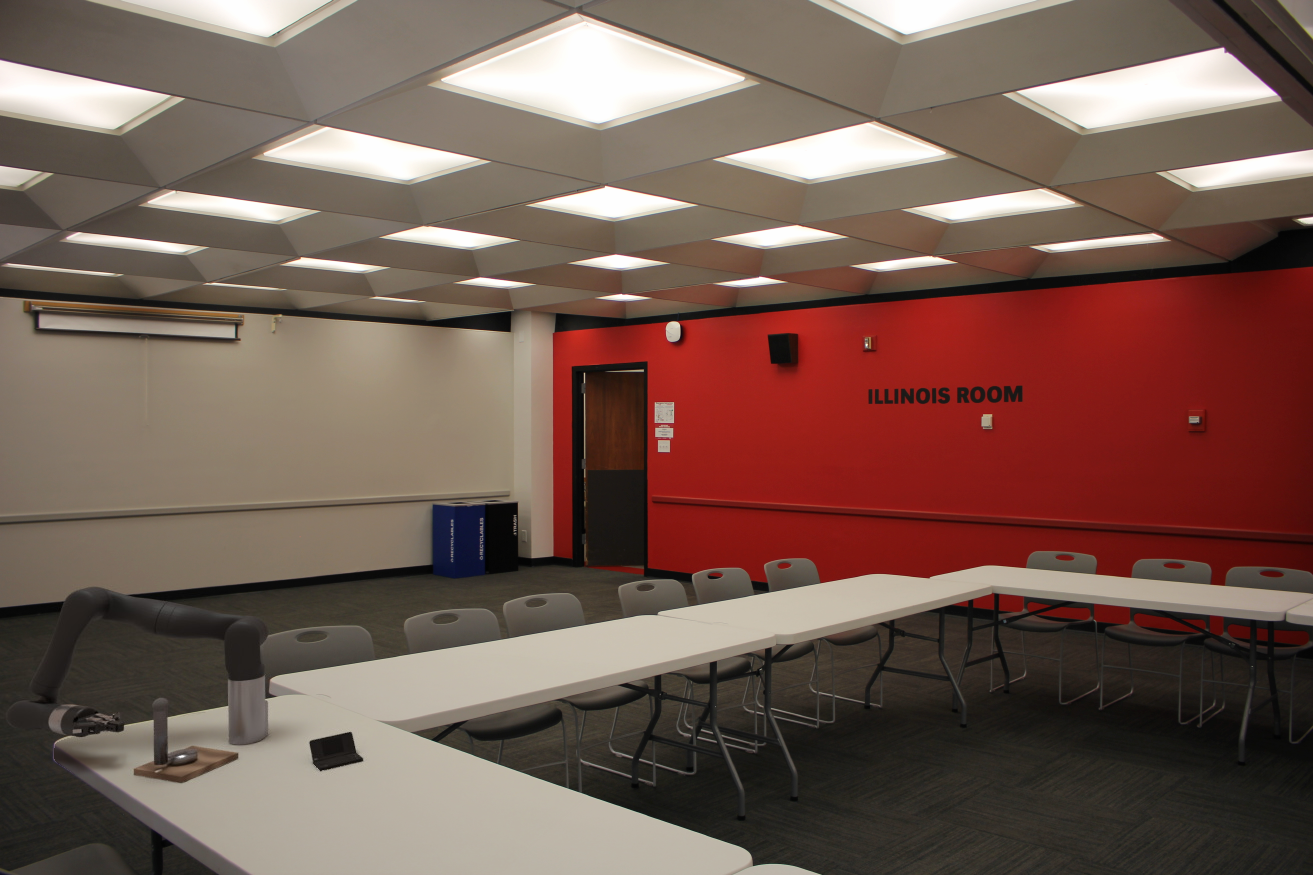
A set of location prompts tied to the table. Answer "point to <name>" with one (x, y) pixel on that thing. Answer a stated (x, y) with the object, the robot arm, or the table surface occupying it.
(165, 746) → the grey upright post stand
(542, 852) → the table surface
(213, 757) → the walnut stand base
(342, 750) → the handheld gaming console
